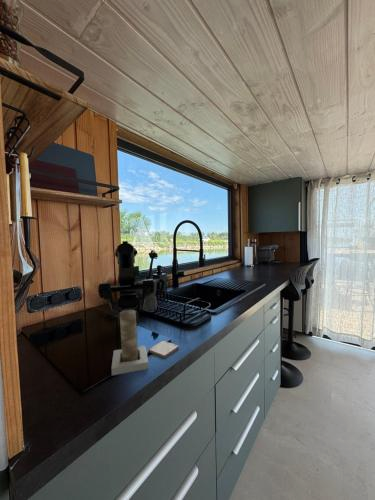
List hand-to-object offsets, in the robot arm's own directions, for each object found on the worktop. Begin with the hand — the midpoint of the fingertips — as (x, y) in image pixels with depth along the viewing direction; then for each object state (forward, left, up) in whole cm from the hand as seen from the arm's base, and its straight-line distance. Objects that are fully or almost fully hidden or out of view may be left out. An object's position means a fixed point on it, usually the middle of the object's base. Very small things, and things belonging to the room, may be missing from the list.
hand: (128, 310), depth 74 cm
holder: (+2, -7, -14) cm, 16 cm away
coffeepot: (+1, +39, -14) cm, 42 cm away
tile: (+11, -1, -14) cm, 18 cm away
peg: (+2, -7, -14) cm, 16 cm away
